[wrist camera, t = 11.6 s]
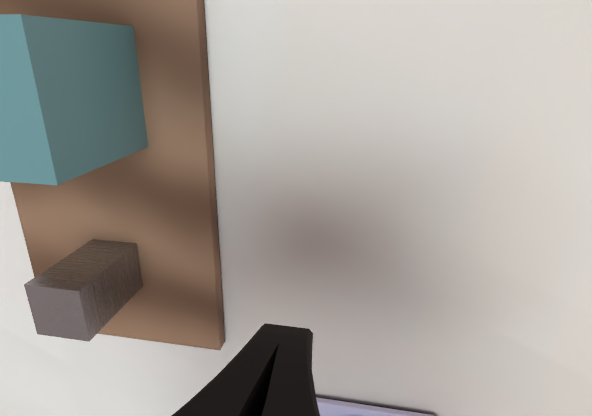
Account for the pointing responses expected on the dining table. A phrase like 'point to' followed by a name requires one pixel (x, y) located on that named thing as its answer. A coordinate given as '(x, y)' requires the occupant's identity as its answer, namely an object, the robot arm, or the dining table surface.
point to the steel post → (85, 289)
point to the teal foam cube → (66, 98)
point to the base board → (145, 179)
